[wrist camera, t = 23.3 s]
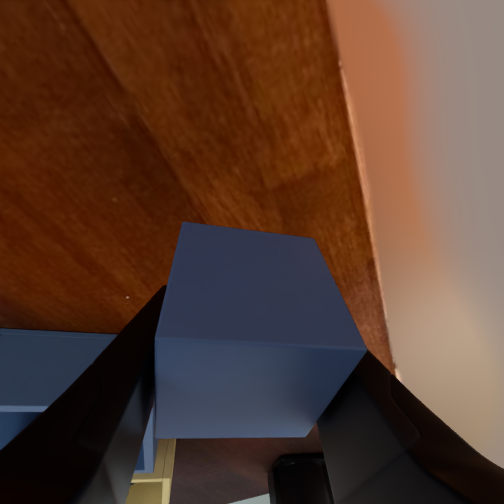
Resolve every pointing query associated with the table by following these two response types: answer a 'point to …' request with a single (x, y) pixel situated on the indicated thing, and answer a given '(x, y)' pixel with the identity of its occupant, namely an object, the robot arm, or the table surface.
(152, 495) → the cream bin
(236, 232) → the blue block
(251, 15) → the table surface
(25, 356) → the blue bin
